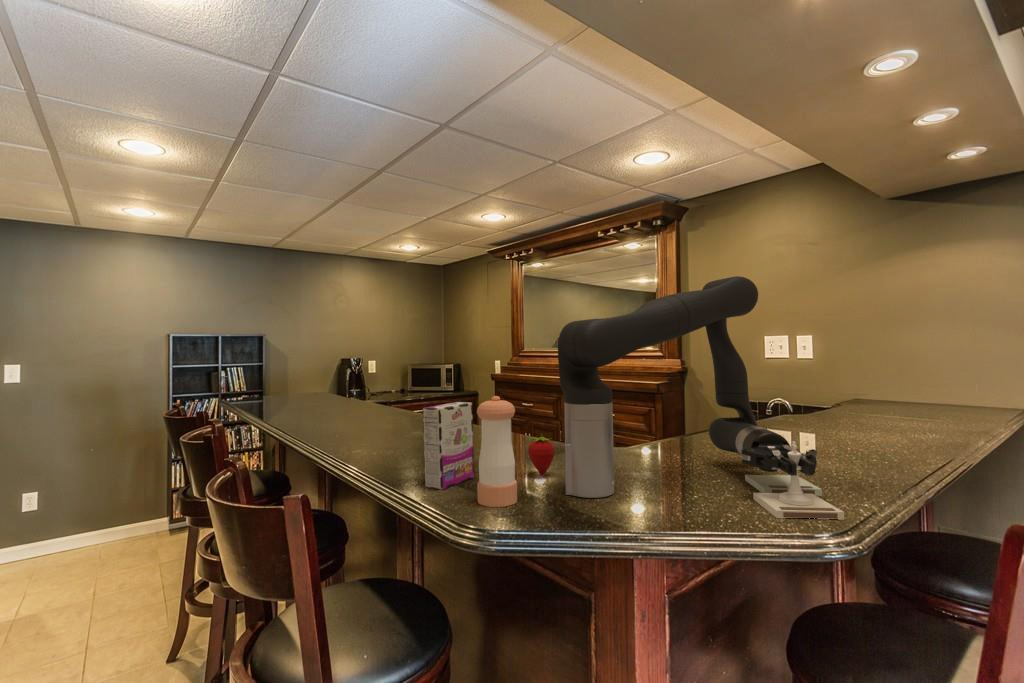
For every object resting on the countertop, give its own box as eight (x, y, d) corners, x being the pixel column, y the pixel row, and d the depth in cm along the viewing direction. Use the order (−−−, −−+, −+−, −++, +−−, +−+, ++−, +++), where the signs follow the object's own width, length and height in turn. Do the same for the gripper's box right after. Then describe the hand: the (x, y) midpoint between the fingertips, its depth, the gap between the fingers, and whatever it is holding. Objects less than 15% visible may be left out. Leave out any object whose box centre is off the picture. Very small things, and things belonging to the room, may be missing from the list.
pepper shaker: (477, 495, 92) (475, 394, 93) (515, 494, 93) (513, 394, 93) (478, 508, 85) (476, 398, 85) (519, 506, 86) (517, 397, 86)
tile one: (777, 518, 77) (776, 509, 77) (753, 499, 87) (753, 491, 87) (844, 520, 76) (844, 511, 76) (812, 500, 86) (812, 492, 86)
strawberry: (528, 479, 103) (527, 432, 104) (528, 471, 111) (527, 427, 111) (556, 479, 103) (555, 432, 103) (554, 471, 111) (553, 426, 111)
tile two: (764, 494, 90) (764, 487, 90) (745, 480, 100) (745, 474, 100) (822, 496, 89) (822, 488, 89) (796, 481, 99) (796, 474, 99)
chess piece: (808, 497, 84) (806, 439, 84) (816, 506, 79) (814, 445, 79) (776, 495, 85) (774, 438, 85) (782, 504, 81) (780, 443, 81)
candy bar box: (456, 475, 108) (455, 401, 109) (474, 477, 106) (473, 402, 106) (422, 487, 99) (421, 406, 99) (441, 490, 96) (440, 407, 97)
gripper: (724, 428, 97) (757, 446, 80) (798, 428, 96) (848, 446, 78) (725, 466, 97) (759, 492, 80) (799, 466, 95) (849, 493, 78)
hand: (802, 469), depth 79 cm, fingers closed on chess piece
